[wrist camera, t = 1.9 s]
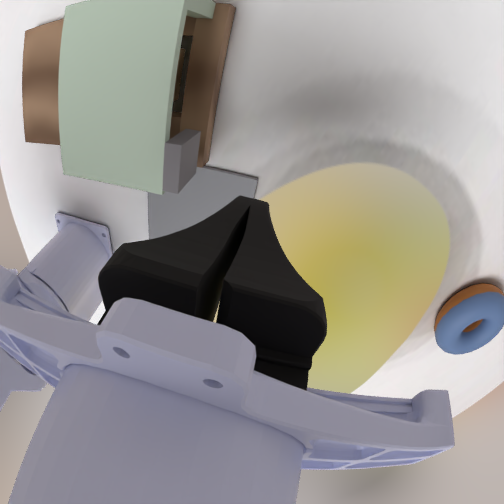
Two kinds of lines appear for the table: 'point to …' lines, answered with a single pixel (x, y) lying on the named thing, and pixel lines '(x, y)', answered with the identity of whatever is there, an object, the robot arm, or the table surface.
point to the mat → (196, 200)
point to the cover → (125, 93)
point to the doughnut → (470, 319)
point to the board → (192, 117)
